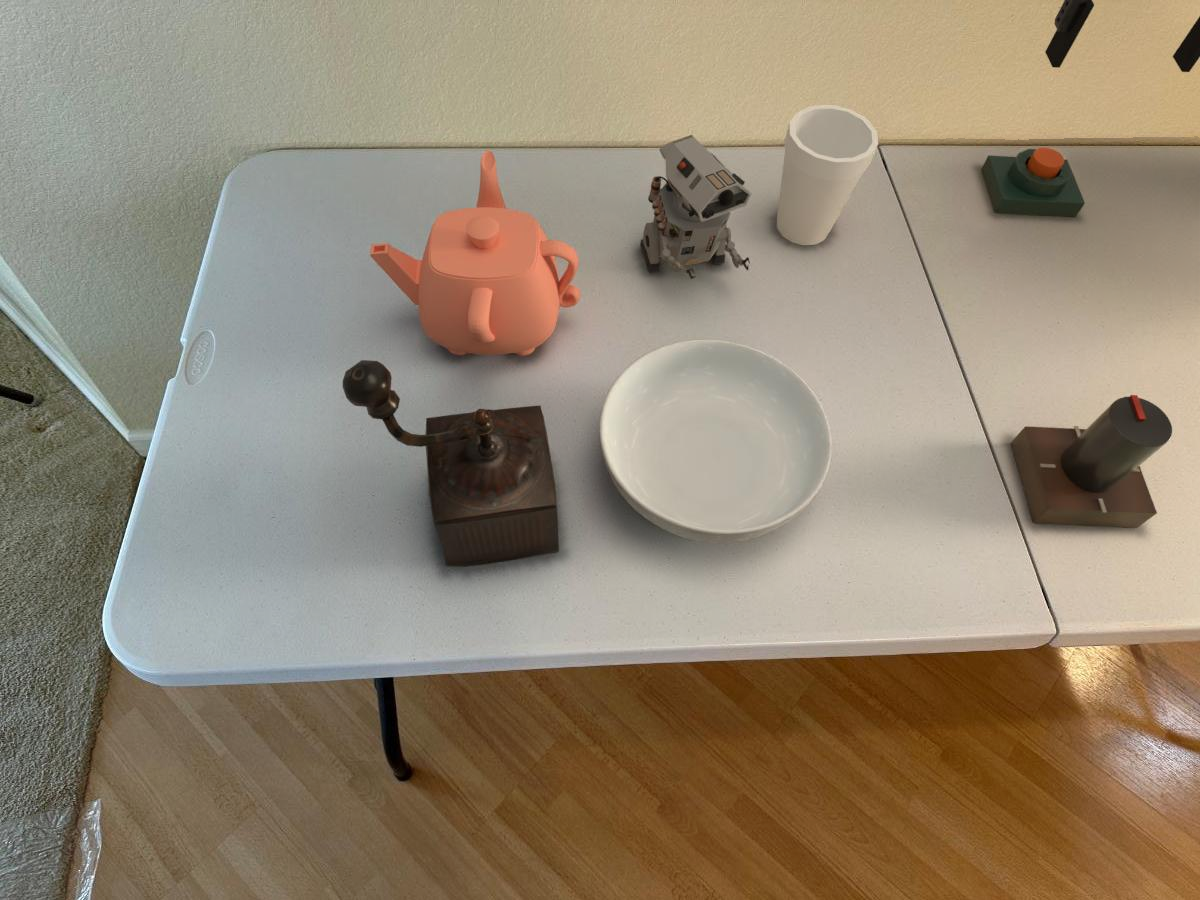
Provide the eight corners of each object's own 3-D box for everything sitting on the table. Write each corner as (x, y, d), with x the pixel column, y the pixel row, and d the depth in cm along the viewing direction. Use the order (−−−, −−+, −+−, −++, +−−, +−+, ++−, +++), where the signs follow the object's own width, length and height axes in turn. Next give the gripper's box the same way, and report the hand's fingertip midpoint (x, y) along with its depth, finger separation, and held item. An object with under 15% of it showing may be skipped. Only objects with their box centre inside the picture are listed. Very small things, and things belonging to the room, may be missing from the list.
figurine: (661, 313, 88) (677, 206, 75) (636, 239, 94) (648, 128, 81) (740, 302, 90) (769, 195, 77) (711, 229, 95) (734, 119, 83)
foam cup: (747, 224, 96) (771, 130, 85) (794, 188, 100) (823, 93, 89) (811, 267, 93) (844, 174, 82) (857, 228, 96) (895, 135, 85)
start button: (1052, 160, 99) (1059, 148, 97) (1060, 180, 97) (1068, 168, 95) (1023, 158, 99) (1030, 146, 97) (1030, 178, 97) (1037, 166, 95)
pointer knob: (1125, 494, 75) (1183, 446, 68) (1069, 490, 75) (1121, 442, 68) (1109, 446, 77) (1163, 396, 70) (1055, 443, 77) (1104, 392, 70)
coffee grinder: (544, 450, 78) (539, 330, 63) (561, 554, 73) (560, 449, 58) (382, 471, 77) (336, 352, 61) (386, 579, 71) (337, 478, 56)
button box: (1058, 173, 103) (1075, 147, 100) (1075, 217, 99) (1093, 191, 95) (980, 169, 103) (994, 142, 99) (994, 213, 99) (1009, 186, 95)
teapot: (384, 323, 86) (357, 226, 75) (496, 240, 93) (486, 140, 82) (492, 406, 81) (481, 316, 70) (601, 312, 88) (607, 216, 77)
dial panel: (1108, 445, 81) (1127, 428, 79) (1138, 529, 76) (1159, 514, 74) (1010, 440, 81) (1025, 423, 78) (1033, 525, 76) (1050, 509, 73)
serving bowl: (690, 347, 86) (699, 303, 80) (854, 466, 79) (877, 427, 73) (551, 467, 77) (550, 428, 72) (721, 612, 70) (735, 582, 65)
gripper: (1391, -194, 68) (1219, 45, 86) (1101, -206, 68) (989, 36, 86) (1439, -153, 64) (1248, 88, 82) (1131, -166, 64) (1007, 79, 82)
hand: (1116, 62), depth 84 cm, fingers open, 13 cm apart
